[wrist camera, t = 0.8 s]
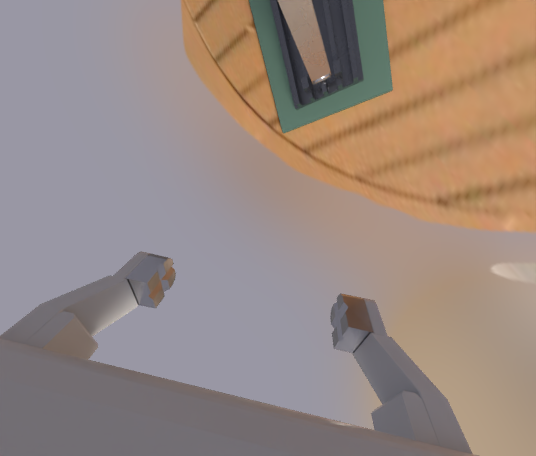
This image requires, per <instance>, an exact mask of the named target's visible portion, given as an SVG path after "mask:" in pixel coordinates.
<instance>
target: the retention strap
mask: <svg viewBox="0 0 536 456" xmlns="http://www.w3.org/2000/svg"><path fill="white" fill-rule="evenodd" d="M278 2H279V5H280V7H281V10H282V12H283V14H284V17H285V19H286V22H287V24H288V26H289V29H290V31H291V34H292V36H293V38H294V41H295V43H296V45H297V48H298V50H299V53H300V55H301V57H302V60H303V62H304V65H305V67H306V69H307V72H308V74H309V76H310V79H311V81H312V84H313V85H315V84H317V83H319V82H321V81H324V80H326V79H328V78H330V77H331V70H330V66H329V62H328V59H327V55H326V51H325V47H324V43H323V40H322V36H321V32H320V28H319V24H318V21H317V17H316V13H315V9H314V5H313V1H312V0H278Z"/></svg>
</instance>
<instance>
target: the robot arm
mask: <svg viewBox="0 0 536 456" xmlns="http://www.w3.org/2000/svg"><path fill="white" fill-rule="evenodd" d="M172 265H173V260H172V259H171V258H167V257H163V256H159V255H154V254H150V253H146V252H139V253H137V254H136V255H135V256H134V257H133V258H132V259H131V260H129V261H128V262H127V263H126V264H125V265H124V266H123V267H122V268H121V269H120V270H119V271H118V272H117V273H116V274H115V275H113V276H108V277H105V278H103V279H100V280H98V281H95V282H93V283H91V284H88V285H86V286H83V287H81V288H79V289H76V290H74V291H71V292H69V293H67V294H64V295H62V296H60V297H57V298H54V299H52V300H50V301H47V302H45V303H42V304H40V305H39V306H38V307H36V308H35V309H34V310H33V311H31V312H30V313H29V314H27V315H26V316H25V317H24V318H22V319H21V320H20V321H19V322H17V323H16V324H15V325H14V326H12V327H11V328H10V329H8V331H6V332H5V333H3V334H2V335H1V336H0V456H477V455H473V454H472V452H471V450H470V447H469V445H468V443H467V441H466V439H465V437H464V434H463V432H462V430H461V428H460V426H459V424H458V421H457V419H456V417H455V415H454V413H453V411H452V409H451V406H450V404H449V402H448V400H447V399H446V398H445V396H444V395H443V394H442V393H441V392H440V391H439V390H438V389H437V388H436V386H435V385H434V384H433V383H432V382H431V381H430V380H429V379H428V377H427V376H426V375H425V374H424V373H423V372H422V371H421V370H420V369H419V368H418V366H417V365H416V364H415V363H414V362H413V361H412V360H411V359H410V358H409V356H408V355H407V354H406V353H405V352H404V351H403V350H402V349H401V347H400V346H399V345H398V344H397V343H396V342H395V341H394V340H393V339H392V337H389V336H387V333H386V330H385V327H384V325H383V322H382V319H381V316H380V313H379V310H378V307H377V304H376V302H375V301H374V300H370V299H365V298H361V297H356V296H351V295H346V294H339V295H338V297H337V303H335V304H334V305H333V307H332V310H331V325H332V326H333V327H334V331H333V333H332V337H333V345H334V349H338V350H342V351H346V352H349V353H353V356H354V357H355V359H356V361H357V362H358V364H359V366H360V367H361V369H362V371H363V372H364V374H365V376H366V377H367V379H368V381H369V382H370V384H371V386H372V387H373V389H374V391H375V392H376V394H377V396H378V398H379V399H380V401H381V402H382V404H383V405H381V406H380V407H378V408H377V409H375V410H374V411H373V412H372V419H373V424H374V429H375V430H372V429H368V428H364V427H359V426H355V425H352V424H347V423H343V422H339V421H335V420H331V419H327V418H323V417H319V416H315V415H311V414H307V413H302V412H299V411H295V410H290V409H287V408H282V407H278V406H274V405H270V404H266V403H262V402H258V401H254V400H250V399H245V398H242V397H238V396H234V395H230V394H225V393H222V392H217V391H213V390H209V389H205V388H201V387H197V386H193V385H189V384H185V383H181V382H177V381H173V380H168V379H165V378H160V377H156V376H152V375H148V374H144V373H140V372H136V371H132V370H128V369H124V368H120V367H116V366H112V365H108V364H104V363H100V362H96V361H91V360H88V359H89V358H90V357H91V355H92V354H93V353H94V352H95V350H96V349H97V348H98V344H97V342H96V341H95V340H94V339H93V337H92V336H94V335H95V334H97V333H98V332H99V331H101V330H103V329H104V328H106V327H107V326H109V325H110V324H112V323H113V322H115V321H116V320H118V319H119V318H121V317H122V316H124V315H126V314H127V313H129V312H130V311H131V310H133V309H134V308H136V307H138V305H141V306H146V307H152V308H156V307H157V306H158V305H159V303H160V302H161V300H162V299H163V297H164V292H165V291H166V290H168V289H170V287H171V286H172V285H173V282H174V280H175V274H176V273H175V270H174V269H173V268H172V267H171V266H172Z"/></svg>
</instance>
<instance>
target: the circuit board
mask: <svg viewBox="0 0 536 456" xmlns="http://www.w3.org/2000/svg"><path fill="white" fill-rule="evenodd" d="M249 3H250V7H251V11H252V14H253V18H254V22H255V26H256V30H257V34H258V38H259V42H260V46H261V50H262V53H263V57H264V61H265V65H266V69H267V73H268V77H269V81H270V85H271V89H272V92H273V96H274V100H275V104H276V108H277V112H278V116H279V120H280V124H281V128H282V132H283V133H286V132H289V131H291V130H294V129H296V128H299V127H301V126H304V125H307V124H309V123H312V122H314V121H317V120H319V119H322V118H324V117H327V116H329V115H332V114H334V113H337V112H340V111H342V110H345V109H347V108H350V107H352V106H355V105H357V104H360V103H362V102H365V101H367V100H370V99H372V98H375V97H378V96H380V95H383V94H385V93H388V92H390V91H392V90H393V88H392V78H391V69H390V60H389V51H388V42H387V32H386V23H385V14H384V5H383V0H353V7H354V15H355V22H356V29H357V36H358V43H359V50H360V57H361V64H362V71H363V78H364V80H363V81H362V82H360V83H358V84H355V85H353V86H351V87H348V88H346V89H344V90H342V91H339V92H337V93H335V94H333V95H330V96H328V97H326V98H323V99H321V100H319V101H317V102H314V103H312V104H310V105H307V106H305V107H303V108H301V109H298V110H296V109H295V106H294V102H293V97H292V93H291V89H290V85H289V80H288V76H287V72H286V67H285V63H284V59H283V55H282V50H281V46H280V42H279V37H278V33H277V29H276V25H275V20H274V16H273V12H272V7H271V3H270V0H249Z"/></svg>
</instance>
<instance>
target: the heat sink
mask: <svg viewBox="0 0 536 456" xmlns="http://www.w3.org/2000/svg"><path fill="white" fill-rule="evenodd" d="M312 1H313V5H314V9H315V13H316V17H317V21H318V24H319V28H320V32H321V36H322V40H323V43H324V47H325V51H326V55H327V59H328V62H329V66H330V70H331V77H330V78H328V79H326V80H324V81H321V82H319V83H317V84H315V85H313V84H312V81H311V79H310V76H309V74H308V72H307V69H306V67H305V65H304V62H303V60H302V57H301V55H300V53H299V50H298V48H297V45H296V43H295V41H294V38H293V36H292V34H291V31H290V29H289V26H288V24H287V22H286V19H285V17H284V14H283V12H282V10H281V7H280V5H279V2H278V0H270V3H271V7H272V12H273V16H274V20H275V25H276V29H277V33H278V37H279V42H280V46H281V50H282V55H283V59H284V63H285V67H286V72H287V76H288V80H289V85H290V89H291V93H292V97H293V102H294V106H295V109H296V110H298V109H301V108H303V107H305V106H307V105H310V104H312V103H314V102H317V101H319V100H321V99H323V98H326V97H328V96H330V95H333V94H335V93H337V92H339V91H342V90H344V89H346V88H348V87H351V86H353V85H355V84H358V83H360V82H362V81H363V80H364V78H363V71H362V64H361V57H360V50H359V43H358V36H357V29H356V22H355V15H354V7H353V0H312Z"/></svg>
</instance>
